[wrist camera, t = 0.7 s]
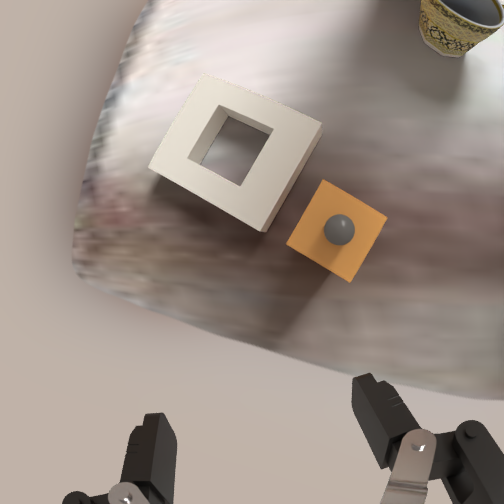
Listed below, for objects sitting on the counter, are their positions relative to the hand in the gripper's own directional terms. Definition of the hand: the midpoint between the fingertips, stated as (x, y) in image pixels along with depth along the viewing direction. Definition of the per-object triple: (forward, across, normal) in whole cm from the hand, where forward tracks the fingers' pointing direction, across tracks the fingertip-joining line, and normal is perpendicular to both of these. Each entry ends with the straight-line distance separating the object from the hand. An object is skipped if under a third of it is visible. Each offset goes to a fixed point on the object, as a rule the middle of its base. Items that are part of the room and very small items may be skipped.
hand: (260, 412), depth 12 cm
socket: (+26, -2, -10) cm, 28 cm away
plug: (+20, -10, 0) cm, 23 cm away
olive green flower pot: (+22, -32, -22) cm, 45 cm away
